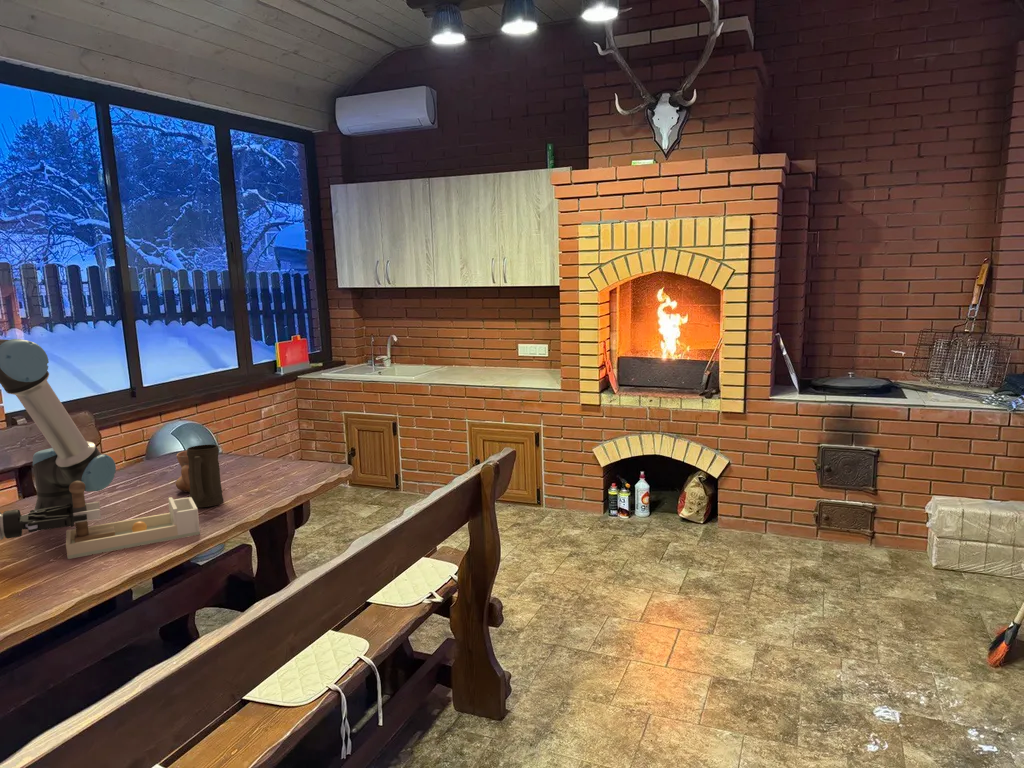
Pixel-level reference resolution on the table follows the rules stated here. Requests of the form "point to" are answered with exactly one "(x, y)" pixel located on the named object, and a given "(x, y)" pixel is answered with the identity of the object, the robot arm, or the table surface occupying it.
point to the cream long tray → (159, 529)
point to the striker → (79, 506)
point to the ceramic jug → (183, 472)
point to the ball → (139, 526)
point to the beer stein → (204, 475)
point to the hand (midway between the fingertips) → (99, 509)
